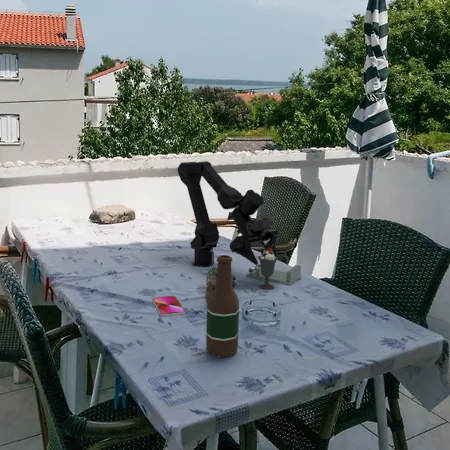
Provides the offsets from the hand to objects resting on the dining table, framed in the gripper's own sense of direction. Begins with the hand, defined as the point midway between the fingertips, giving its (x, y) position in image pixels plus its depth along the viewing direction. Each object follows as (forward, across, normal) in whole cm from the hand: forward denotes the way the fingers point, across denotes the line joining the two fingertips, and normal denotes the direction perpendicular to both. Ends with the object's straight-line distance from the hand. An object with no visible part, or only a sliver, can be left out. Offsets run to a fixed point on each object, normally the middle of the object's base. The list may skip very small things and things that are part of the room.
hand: (266, 261), depth 180 cm
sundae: (+6, 0, +6) cm, 9 cm away
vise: (+2, +9, +10) cm, 14 cm away
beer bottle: (+26, -43, -13) cm, 52 cm away
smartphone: (+3, -36, +10) cm, 38 cm away
